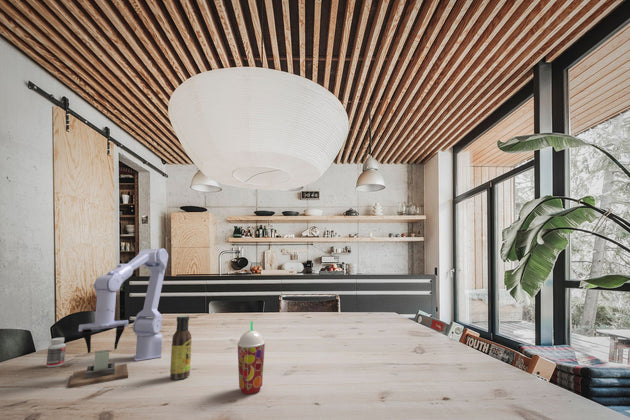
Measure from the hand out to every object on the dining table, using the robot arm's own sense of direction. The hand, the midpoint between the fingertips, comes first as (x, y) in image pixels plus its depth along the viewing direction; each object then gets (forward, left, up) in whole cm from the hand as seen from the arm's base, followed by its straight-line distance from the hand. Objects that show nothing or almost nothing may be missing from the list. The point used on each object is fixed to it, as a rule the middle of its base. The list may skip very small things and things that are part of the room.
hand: (102, 350), depth 113 cm
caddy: (0, 0, -8) cm, 9 cm away
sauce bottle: (-23, +16, -9) cm, 29 cm away
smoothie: (-39, +40, -9) cm, 57 cm away
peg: (0, 0, -8) cm, 8 cm away
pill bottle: (+15, -24, -9) cm, 30 cm away
